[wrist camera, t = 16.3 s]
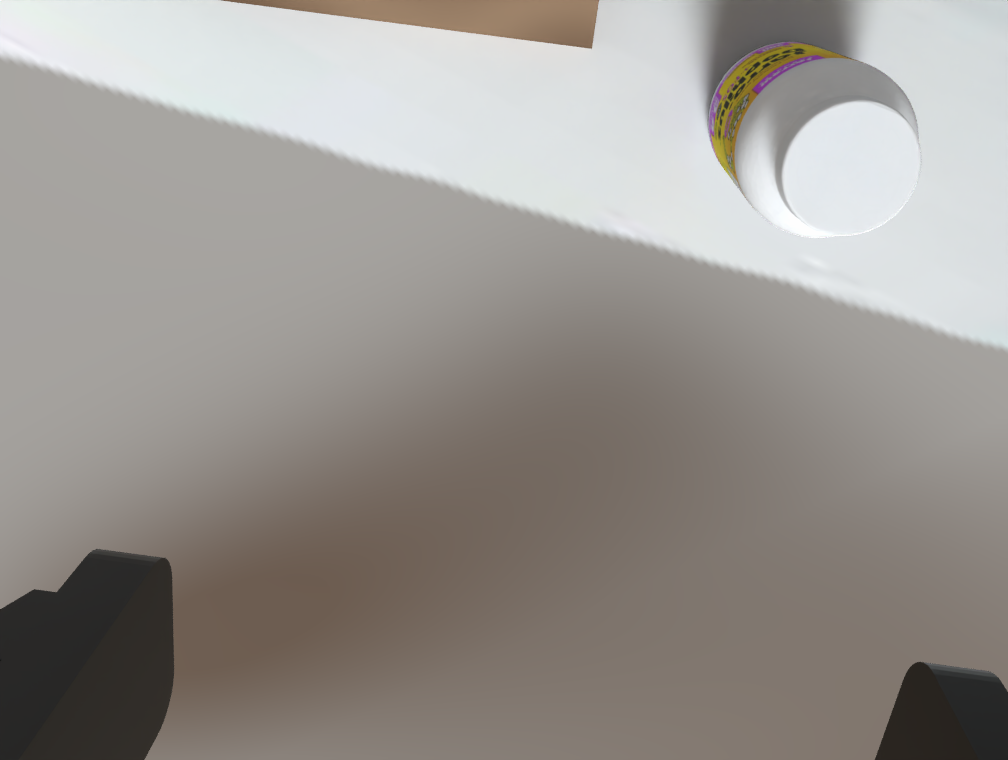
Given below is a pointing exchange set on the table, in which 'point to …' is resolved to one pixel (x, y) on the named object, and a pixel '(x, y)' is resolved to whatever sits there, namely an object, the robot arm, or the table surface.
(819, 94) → the supplement bottle
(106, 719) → the robot arm
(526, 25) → the stand
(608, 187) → the table surface
